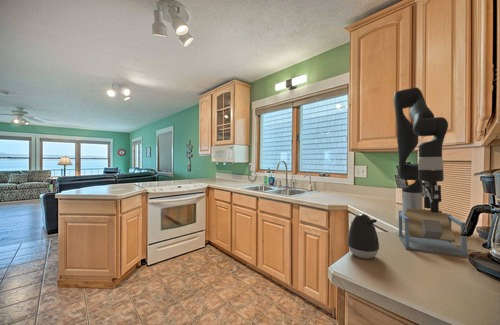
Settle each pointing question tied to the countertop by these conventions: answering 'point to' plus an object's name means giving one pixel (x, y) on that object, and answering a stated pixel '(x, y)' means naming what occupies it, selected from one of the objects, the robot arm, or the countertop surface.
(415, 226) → the trapdoor
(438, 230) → the basalt cube
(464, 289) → the countertop surface
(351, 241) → the penguin figurine
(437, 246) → the trapdoor frame
